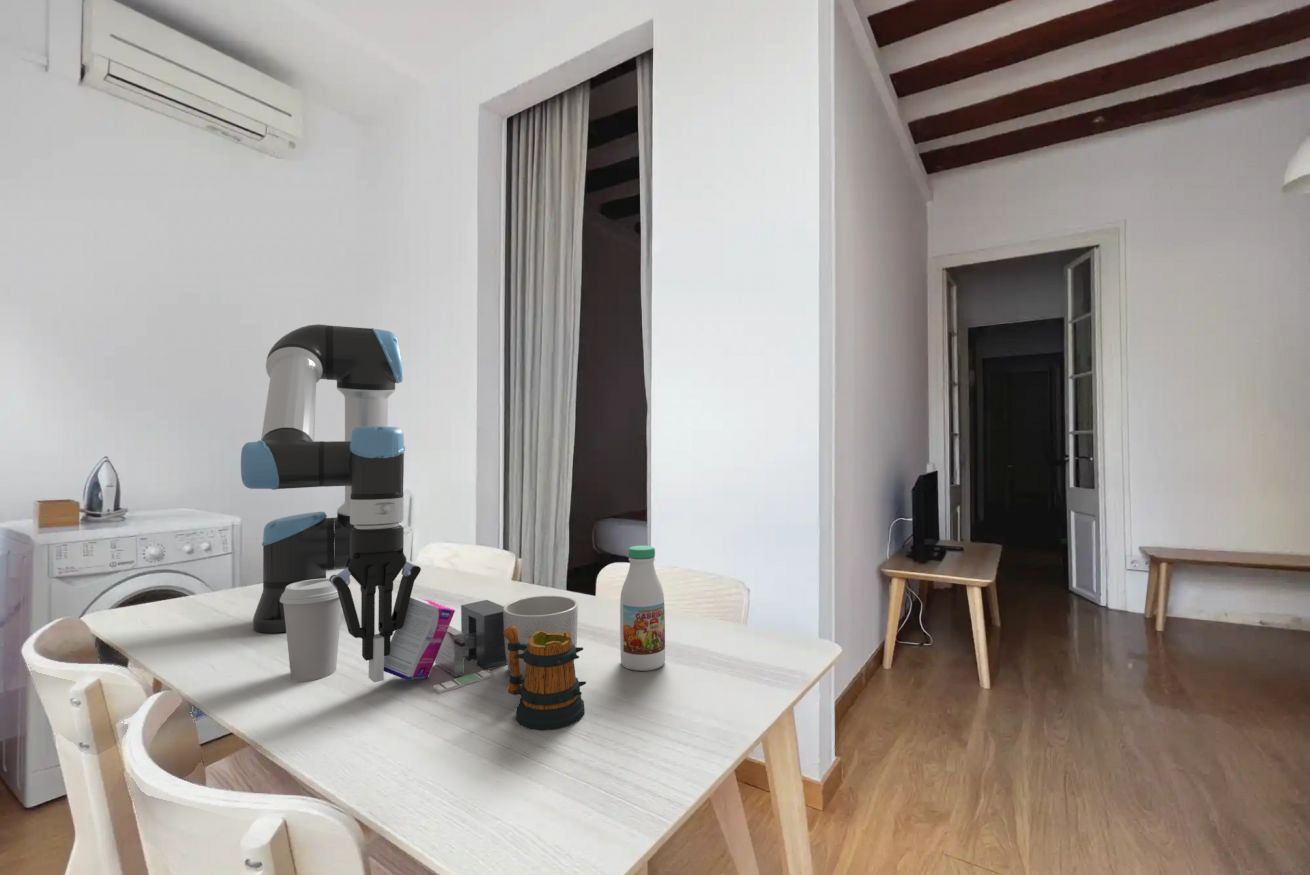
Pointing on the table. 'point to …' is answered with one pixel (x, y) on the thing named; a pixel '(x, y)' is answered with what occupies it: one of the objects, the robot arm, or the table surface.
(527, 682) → the mug
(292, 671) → the coffee cup
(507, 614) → the planter
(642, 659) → the milk bottle
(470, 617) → the box
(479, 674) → the strip
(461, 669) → the grey block with crossbar
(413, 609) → the supplement box
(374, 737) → the table surface
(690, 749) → the table surface
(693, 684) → the table surface
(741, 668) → the table surface
